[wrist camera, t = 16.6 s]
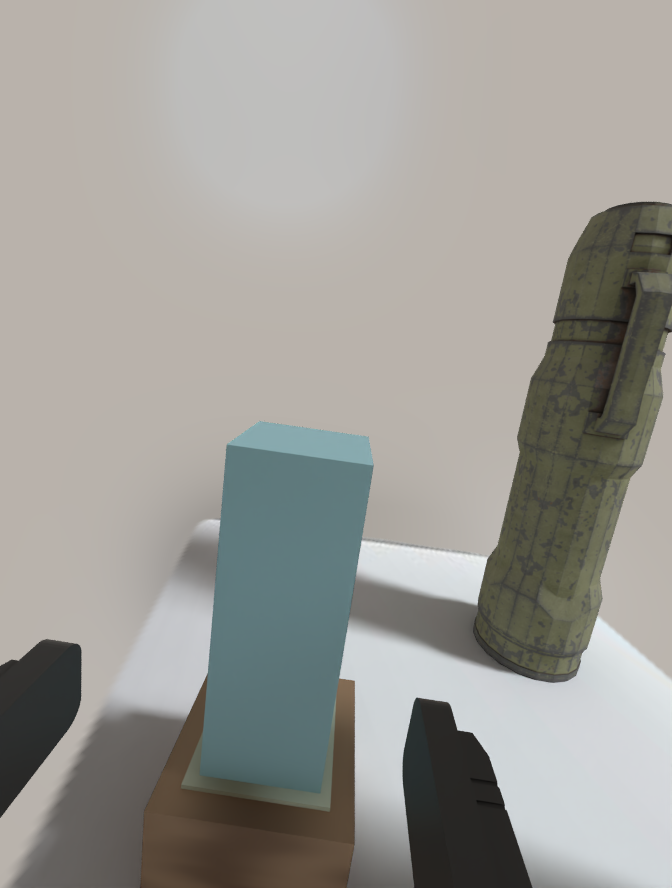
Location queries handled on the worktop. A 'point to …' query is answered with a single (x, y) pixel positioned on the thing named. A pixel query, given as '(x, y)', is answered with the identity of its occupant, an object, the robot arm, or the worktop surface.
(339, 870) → the walnut base
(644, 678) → the worktop surface
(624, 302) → the thermos
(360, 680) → the worktop surface
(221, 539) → the teal block
